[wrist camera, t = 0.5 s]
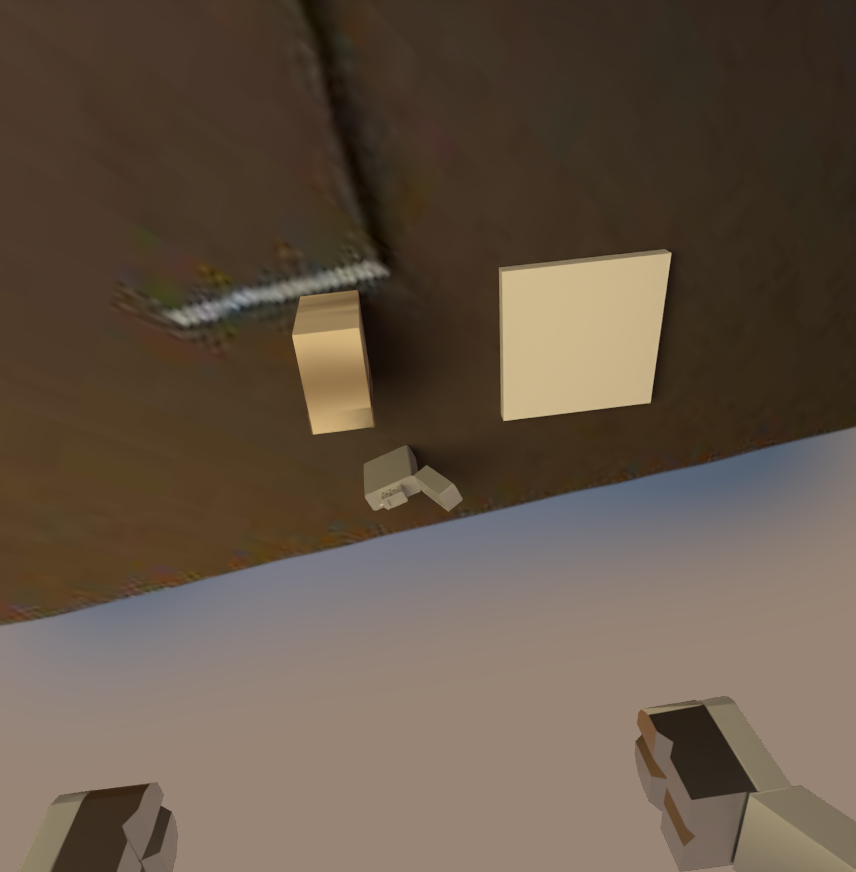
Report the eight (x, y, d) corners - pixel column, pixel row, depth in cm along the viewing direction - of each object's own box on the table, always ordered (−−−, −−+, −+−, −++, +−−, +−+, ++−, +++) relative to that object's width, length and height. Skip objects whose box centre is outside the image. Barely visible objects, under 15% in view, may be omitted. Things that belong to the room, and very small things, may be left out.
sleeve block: (299, 296, 41) (290, 335, 36) (359, 290, 42) (360, 327, 36) (316, 385, 45) (311, 434, 39) (372, 379, 45) (375, 426, 40)
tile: (499, 267, 42) (502, 271, 41) (665, 249, 42) (671, 252, 42) (501, 414, 48) (503, 420, 47) (645, 396, 49) (650, 402, 48)
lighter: (372, 478, 50) (376, 543, 44) (362, 464, 49) (364, 527, 43) (449, 445, 49) (464, 506, 43) (440, 429, 48) (455, 489, 42)
